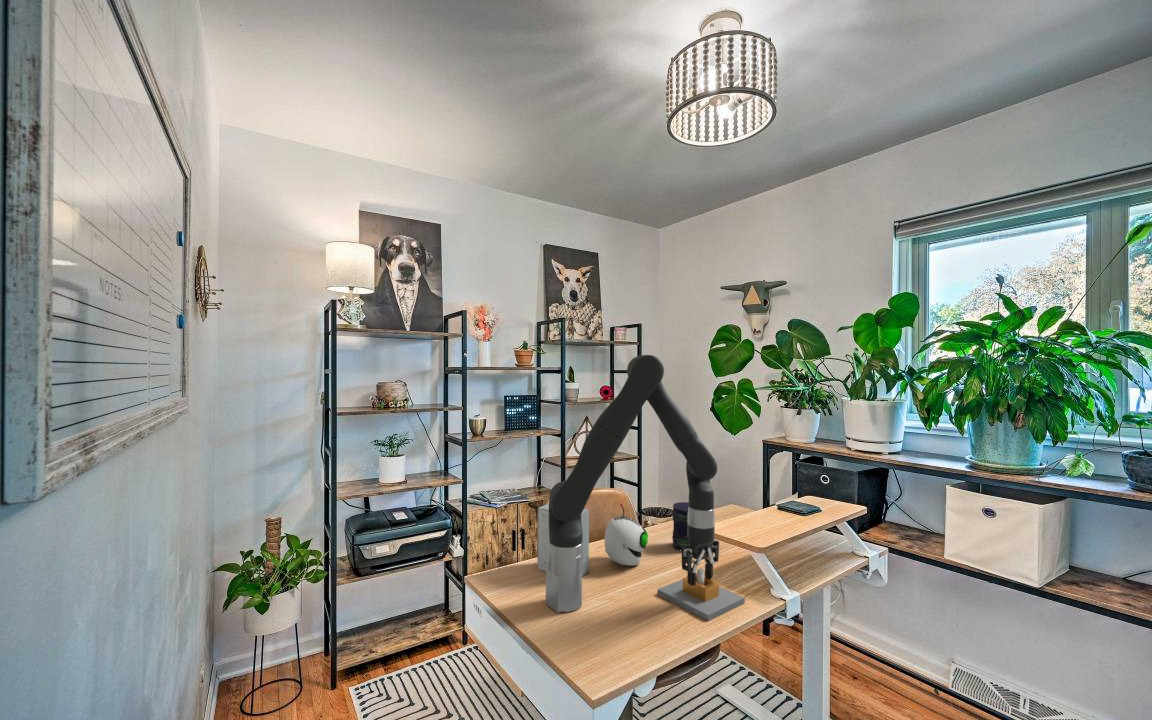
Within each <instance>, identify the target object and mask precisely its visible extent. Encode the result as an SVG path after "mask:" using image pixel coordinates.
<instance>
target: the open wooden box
mask: <svg viewBox="0 0 1152 720" xmlns="http://www.w3.org/2000/svg"><path fill="white" fill-rule="evenodd" d="M682 579H683V591H685V592H687V593H689V594H691V595H693V596H695V597H697V598H699V599H701V600H703V601H705V602H706V601H708V600H710V599H713V598H715V597H717V596H719V586H720V582H718V581H715V580H713V579H709V578H707V577H705V576H704V585H702V584H700V583H698V582H697V572H696V585H694V586H692V585H690V584H688V581H687V576H684V577H682Z"/></svg>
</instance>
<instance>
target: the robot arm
mask: <svg viewBox="0 0 1152 720" xmlns="http://www.w3.org/2000/svg"><path fill="white" fill-rule="evenodd" d="M626 375H627V379H626V381H625V383H624V384H623V386H622V388H621V390H620V392H619V393H618V394H617V396H616V397H615V398H614V399H613V400H612V402H610V403H609V405H607V407H606V408H605V409H604V410H603V411H602V413H600V415H599V416H598V418H597V419H596V421H595V422H594V424H593V426H592V427H591V429H590V431H589V432H588V433H587V436H586V438H585V440H584V442H583V444H582V448H581V450H580V452H579V455H578V458H577V461H576V464H575V466H574V468H573V470H572V471H571V472H570V474H569V476H568V477H567V479H566V480H564V481H559V482H557V483H556V484H555V485H553V487H552V488H551V490H550V492H549V495H548V496H549V497H548V504H549V569H547V570H546V571H545V606H548V607H549V608H550V609H552V610H553V611H554V612H556V614H559V613H568V612H569V613H570V612H574V611H577V610H580V608H581V607H582V606H583V576H582V541H583V533H582V523H581V513H582V511H583V510H584V509H586V506H587V504H588V503H587V502H588V501H589V498H590V497H591V494H592V492H593V490H594V488H595V486H596V484H597V482H598V481H599V479H600V478H601V476H602V475H603V473H604V472H605V470H606V469H607V467H608V466H609V464H610V463H611V461H612V459H613V458H614V456H615V455H616V453H617V452H618V450H619V449H620V447H621V445H622V444H623V442H624V440H625V439H626V437H627V435H628V433H629V432H630V430H631V428H632V427H633V425H634V423H635V421H636V420H637V419H636V418H637V417H638V415H639V412H640V411H641V409H642V408H643V406H644V405H645V403H646V402H648V403H649V405H650V407H651V408H652V410H653V411H654V412H655V415H656V416H657V418H658V419H659V420H660V422H661V424H662V426H663V428H664V429H665V431H666V433H667V435H669V438H670V439H671V441H672V443H673V445H674V446H675V447H676V449H677V450H678V451H679V452H680V453H681V454H682V455H683V457H684V458H685V460H686V463H685V467H686V468H685V470H686V472H685V473H686V479H687V485H688V503H689V508H688V525H687V537H688V539H689V541H690V546H689V548H688V549H684V548H682V552H681V569H682V570H684V571H686V572H687V575H686V577H687V581H688V584H690V585H692V586H694V585H696V573H697V570H698V569H697V568H698V567H699V566H700V564H701V562H702V561H703V560H704V563H705V564H704V577H707V578H709V579H711V580H713V577H714V576H713V575H714V566H715V563H718V562H719V559H720V557H719V555H720V541H719V540H716V539H715V535H716V534H715V529H716V528H715V525H716V524H715V523H716V520H715V519H716V517H715V494H714V493H715V492H714V490H713V488H712V486H711V480H712V479H713V478H715V477H716V475H717V473H718V464H717V461H716V459H715V458H714V456H713V454H712V453H711V452H710V450H709V449H708V448H707V447H706V445H705V444H704V442H702V440H701V438H700V437H699V435H698V433H697V431H696V430H695V427H694V426H693V425H692V423H691V422H690V420H689V418H688V417H687V415H686V414H685V413H684V412H683V410H682V409H681V408H680V407H679V406H678V404H677V402H675V400H674V399H673V397H672V396H671V395H670V394H669V392H668V391H667V389H666V387H665V386H664V384H663V381H662V380H663V379H664V378H663V377H664V375H665V367H664V363H663V361H662V359H660V358H659V357H657V356H656V355H653V354H641V355H638V356H635V357H633V358H632V359H631V360H630V361H629V363H628V364H627V368H626ZM692 564H693V565H692Z"/></svg>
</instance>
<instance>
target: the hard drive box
mask: <svg viewBox="0 0 1152 720" xmlns="http://www.w3.org/2000/svg"><path fill="white" fill-rule="evenodd" d="M589 515H590V510H589V509H588V508H584V510H583V511H582V513H581V523H582V533H583V541H582V577H584V576H585V575H586V574H587V573H589V571H590V550H589V549H590V547H589V546H590V541H589V540H590V526H589V525H590V520H589V519H590V516H589ZM536 562H537V563H536V565H537V567H536V568H537V570H540V571H543V572H546V570H547V569H549V503H545V504H544V505H541V506H539V507H537V561H536Z"/></svg>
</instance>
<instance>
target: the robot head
mask: <svg viewBox="0 0 1152 720" xmlns="http://www.w3.org/2000/svg"><path fill="white" fill-rule="evenodd" d="M619 506H620V507H621V508H622V511H623V512H622V515H621V516H615V517H613V518H612V519H610V520H609V521H608V524H607V525H606V529H605V532H604V551H605V553H606V554H607V556H608V557H609V558H610V560H611V561H612V562H615V563H616V564H620V565H621V566H629V567H633V566H638V565H639V564H640V563H641V561H642V552H643V551H644V549H645V548H646V547H647V544H648V541H649V540H648V538H649V534H648V531H647V530H646V529H645V527H644V526H642V525H641V524H640V523H638V521H637V520H634V519H633V518H631V517H628V516H626V515H625V507H624V506H623V503H620V504H619Z"/></svg>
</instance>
